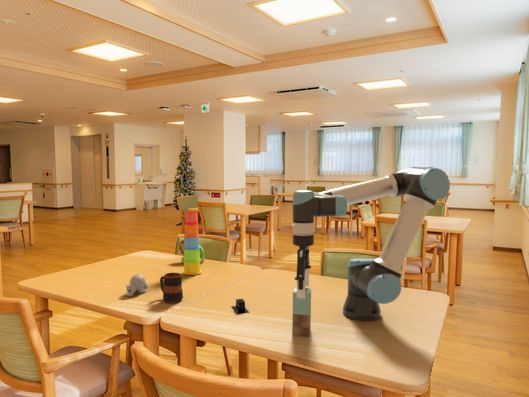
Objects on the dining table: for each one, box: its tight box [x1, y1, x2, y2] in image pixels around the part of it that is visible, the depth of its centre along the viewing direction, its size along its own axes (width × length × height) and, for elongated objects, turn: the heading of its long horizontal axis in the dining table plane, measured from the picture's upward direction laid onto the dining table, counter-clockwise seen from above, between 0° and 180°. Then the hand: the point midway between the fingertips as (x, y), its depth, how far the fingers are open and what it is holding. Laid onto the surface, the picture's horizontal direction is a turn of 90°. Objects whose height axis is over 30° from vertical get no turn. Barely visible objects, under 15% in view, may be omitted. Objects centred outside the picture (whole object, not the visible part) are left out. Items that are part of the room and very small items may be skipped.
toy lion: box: [178, 239, 206, 264], centre depth 247 cm, size 16×5×15 cm, turn 80°
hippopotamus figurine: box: [125, 274, 149, 297], centre depth 187 cm, size 7×12×8 cm, turn 155°
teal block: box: [292, 286, 312, 315], centre depth 145 cm, size 6×6×8 cm
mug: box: [159, 272, 184, 304], centre depth 179 cm, size 9×12×12 cm
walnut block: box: [291, 310, 312, 338], centre depth 145 cm, size 6×6×8 cm
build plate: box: [230, 298, 250, 315], centre depth 168 cm, size 12×7×5 cm, turn 20°
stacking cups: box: [182, 210, 202, 276], centre depth 222 cm, size 10×10×35 cm
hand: (303, 291), depth 144 cm, fingers open, 13 cm apart
